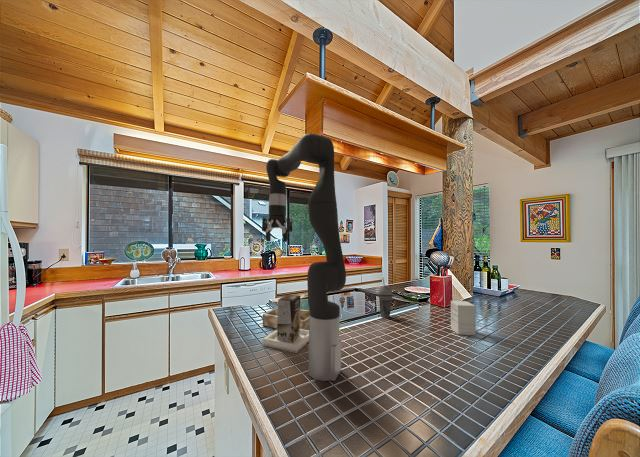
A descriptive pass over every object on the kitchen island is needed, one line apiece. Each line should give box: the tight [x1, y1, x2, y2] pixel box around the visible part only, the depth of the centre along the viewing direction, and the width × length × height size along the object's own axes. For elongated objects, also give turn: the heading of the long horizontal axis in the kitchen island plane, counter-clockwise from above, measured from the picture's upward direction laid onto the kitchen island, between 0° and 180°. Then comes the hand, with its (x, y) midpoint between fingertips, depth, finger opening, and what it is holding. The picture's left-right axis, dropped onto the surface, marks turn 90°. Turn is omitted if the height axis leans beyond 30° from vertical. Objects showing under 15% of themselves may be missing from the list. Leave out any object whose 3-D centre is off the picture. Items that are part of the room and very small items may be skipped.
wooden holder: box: [262, 308, 309, 330], centre depth 112 cm, size 21×14×5 cm, turn 67°
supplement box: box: [450, 300, 477, 336], centre depth 107 cm, size 7×7×13 cm
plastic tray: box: [262, 329, 309, 354], centre depth 93 cm, size 14×14×2 cm
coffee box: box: [276, 294, 301, 344], centre depth 94 cm, size 9×6×16 cm
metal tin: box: [274, 305, 278, 316], centre depth 114 cm, size 5×5×7 cm
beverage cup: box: [377, 277, 393, 319], centre depth 124 cm, size 7×7×20 cm
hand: (276, 241), depth 107 cm, fingers open, 8 cm apart
